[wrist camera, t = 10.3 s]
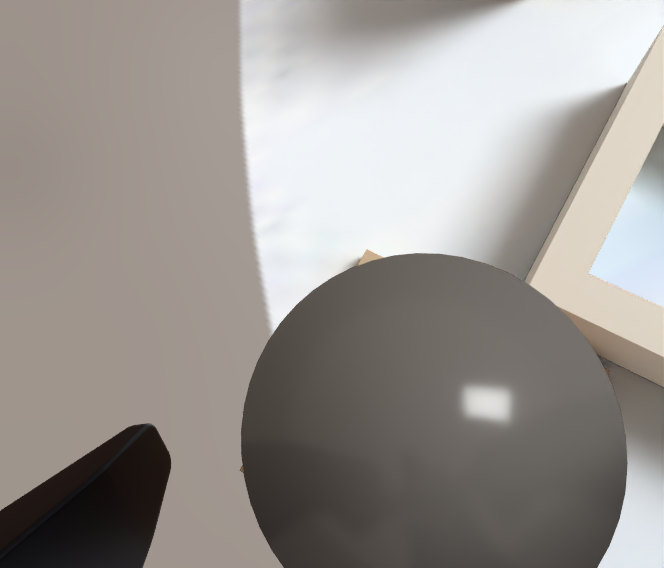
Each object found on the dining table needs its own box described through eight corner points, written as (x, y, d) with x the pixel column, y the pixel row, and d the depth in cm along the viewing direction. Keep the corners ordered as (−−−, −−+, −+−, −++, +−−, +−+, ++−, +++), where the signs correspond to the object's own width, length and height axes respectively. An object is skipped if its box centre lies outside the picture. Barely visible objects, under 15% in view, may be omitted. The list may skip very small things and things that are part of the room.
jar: (499, 526, 16) (625, 698, 6) (328, 495, 17) (209, 600, 7) (509, 353, 17) (627, 270, 7) (350, 334, 18) (273, 240, 8)
